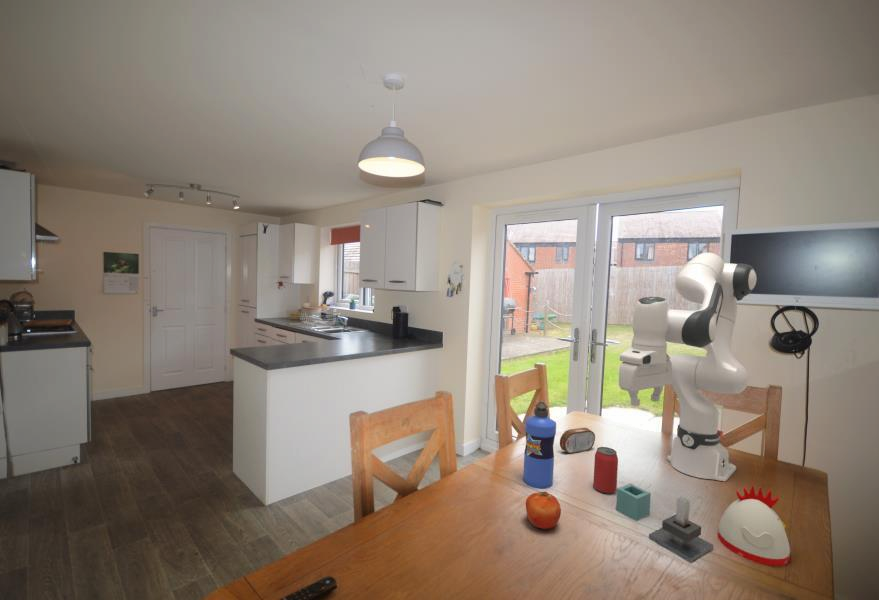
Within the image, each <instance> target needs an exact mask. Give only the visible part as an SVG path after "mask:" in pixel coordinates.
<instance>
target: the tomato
mask: <svg viewBox="0 0 879 600" xmlns="http://www.w3.org/2000/svg"><path fill="white" fill-rule="evenodd" d="M525 509H526V511H525V512H526V516H527V519H528V520H529V521H530V523H531V524H532V525H533V526H534V527H536V528H538V529H539V528H540V529H542V530H549V529H551V528H554V527H556V525H557V523H558V522H559V520H560V518H561V515H562V507H561V505H560V502H559V501H558V498H557V497H555V496H554V495H553V494H551V493H549V492H548V491H546V490H545V491H539V492H534V493H531V494H530V495H528V496H527V498H526V500H525Z"/></svg>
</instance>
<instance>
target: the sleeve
mask: <svg viewBox="0 0 879 600" xmlns="http://www.w3.org/2000/svg"><path fill="white" fill-rule="evenodd" d="M651 495H652V494H651V492H649V491H647V490H645V489H643V488H641V487H638V486H636V485H635V484H632V483H628V484H625V485H622V486H620V487H616V501H615V502H616V505H615V510H616V511H617V512H620V513H622V514H623V515H625V516H627V517H629V518H631V519H632V520H634V521H635V522H637V521H639V520H641V519H643V518H645V517H648V516H649V515H650V513H651V512H650V510H651V509H650V508H651Z"/></svg>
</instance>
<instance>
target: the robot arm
mask: <svg viewBox="0 0 879 600" xmlns="http://www.w3.org/2000/svg"><path fill="white" fill-rule="evenodd" d="M757 279H758V278H757V273H756V269H755V268H754V267H753V266H752V265H750V264H747V263H742V262H741V263H729V262H724V260H723V258H722V257H721V256H720V255H718V254H716V253H712V252H702V253H699V254H697V255H696V256H694V257H693V258H691V259H690V260H689V261H688V262H687V263H686V264H685V265H684V266H683V267H682V269H681V270H680V271H679V272H678V274H677V276H676V278H675V288H676V290H677V293H678V294H679V295H680V296H681V297H682V298H683V299H684V300H686V301H688V302H692V303H696V304H699V305H701V306H700V308H699V309H697V310H696V309H693V310H685V309H675V308H674V309H673V308H669V306H668V301H667V299H666V298H664V297H660V296H659V297H658V296H649V297H648V296H645V297H644V296H643V297H641V298H639V299H637V301H636V304H635V307H634V311H633V319H632V331H633V336H632V339H631V346H630V347H628V348H627V349H626V350H624V351H623V352H620V354H619V361H621V363H620V364H619V369H618V370H619V371H618V386H619V388H620V389H621V390H623V391H626V392H628V393H627V394H628V395H629V398H630V405H631V406H634V407H637V406H640V404H641V399H639V398H638V395H639V391H643V390H648V389H649V390H650V389H653V391H652V394H651V395H650V400H651V402H655V403H657V402H659V401H660V398H661V397H660V396H661V394H662V392H663V390H664V387H666V386H671V387H672V388H673V390H674V392H675V394H676V396H677V399H678V403H679V423H678V424H677V428H676V435H677V436H676V437H674V438H673V439H672V445H671V452H670V455H667V458H666V459H667V460H668V461H669V462H670V465H671V466H672V468H674V469H675V470H677V471H679V472H680V473H682V474H685V475H687V476H691V477H694V478H699V479H707V480H716V481H721V482H726V481H728V479H729V478H730V477H731V476H732V475H733V474H734V473H735V471H736V470H737V466H736V465H735V464H733V463H731V462H729V456H730V455H729V451H728V450H727V449H726V448H725V447H724V446H723V444H721V439H720V438H722V437H723V436H724V431H723V430H719V429H718V427H719V414H720V413H719V410H718V407H717V406H716V405H715V404H714V403H713V402H712V401H710V400H709V399H707V398H706V397H705V395H704V394H703V392H702V390H703V391H709V392H713V393H718V394H723V395H724V394H725V395H739V394H741V393H742V392H743V391H745V389H746V388H747V387H748V385H749V373H748V371H747V370H746V368H745V367H744V366H743V365H742V364H741V363H740V362H739V361H738V360H737V359H736V358H735V356H734V353H733V352H732V351H733V350H732V338H733V332H734V328H735V326H736V325H735V324H736V319H737V312H738V302H739V301H741V300H743V299H744V297H747V296H748V295H750V293H752V292H753V290H754V289H755V286H756V285H757ZM667 343H672V344H679V345H680V344H681V345H686V346H689V347H690V346H691V347H693V348H694V347H695V348H700V349H704V350H705V351H706V355H705V356H700V355H694V354H687V353H667V347H668V344H667Z"/></svg>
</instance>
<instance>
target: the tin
mask: <svg viewBox="0 0 879 600" xmlns="http://www.w3.org/2000/svg"><path fill="white" fill-rule="evenodd" d="M595 441H596V434H595V433H594V431H593V430H591V429H589V428H588V427H578V428H571V429H567V430H565V431H564V432H563V433H562V435H561V436H560V439H559V447H560V448H561V450H562V451H564V452H566V453H568V454H575V453H577V454H578V453H583V452H588V451H589V450H591V449H592V448H593V446H594V445H595Z"/></svg>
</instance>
